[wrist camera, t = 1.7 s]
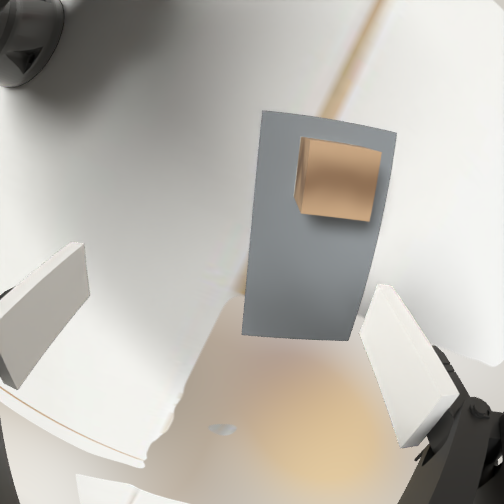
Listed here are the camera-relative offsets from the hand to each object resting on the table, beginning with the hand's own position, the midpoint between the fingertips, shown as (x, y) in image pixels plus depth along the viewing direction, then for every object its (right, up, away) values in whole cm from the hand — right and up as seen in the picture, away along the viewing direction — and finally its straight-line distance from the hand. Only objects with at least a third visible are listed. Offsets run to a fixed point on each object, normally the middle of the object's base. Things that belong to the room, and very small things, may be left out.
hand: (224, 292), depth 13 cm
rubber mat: (+9, +3, +25) cm, 27 cm away
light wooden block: (+10, +11, +21) cm, 26 cm away
